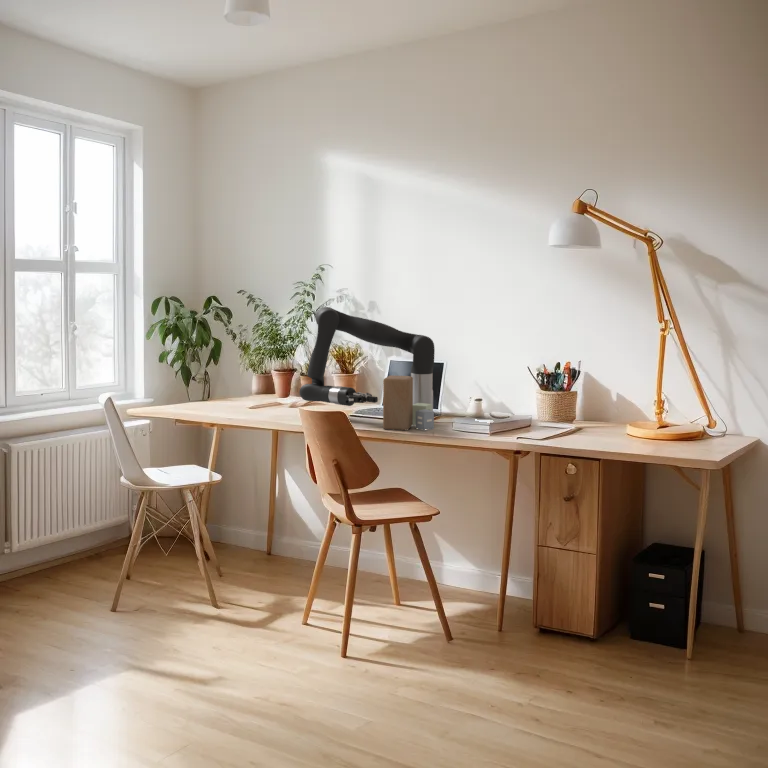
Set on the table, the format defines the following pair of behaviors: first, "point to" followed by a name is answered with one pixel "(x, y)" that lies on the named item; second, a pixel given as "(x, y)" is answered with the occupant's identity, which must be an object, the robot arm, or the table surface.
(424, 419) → the slate block
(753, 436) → the table surface
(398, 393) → the block
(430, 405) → the sage block
